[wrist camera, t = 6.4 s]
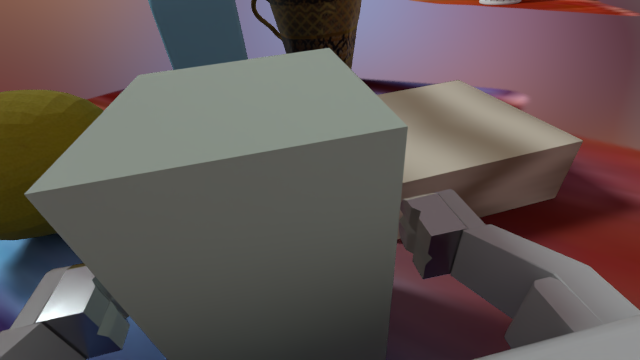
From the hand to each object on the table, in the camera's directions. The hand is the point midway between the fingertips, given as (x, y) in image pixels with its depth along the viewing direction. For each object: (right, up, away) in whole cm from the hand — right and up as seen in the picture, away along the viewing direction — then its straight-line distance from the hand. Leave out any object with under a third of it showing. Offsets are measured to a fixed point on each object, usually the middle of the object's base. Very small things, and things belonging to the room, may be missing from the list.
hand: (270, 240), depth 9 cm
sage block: (+1, -5, +3) cm, 6 cm away
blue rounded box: (-6, +6, +19) cm, 21 cm away
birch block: (+9, +2, +11) cm, 15 cm away
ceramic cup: (0, +14, +28) cm, 32 cm away
